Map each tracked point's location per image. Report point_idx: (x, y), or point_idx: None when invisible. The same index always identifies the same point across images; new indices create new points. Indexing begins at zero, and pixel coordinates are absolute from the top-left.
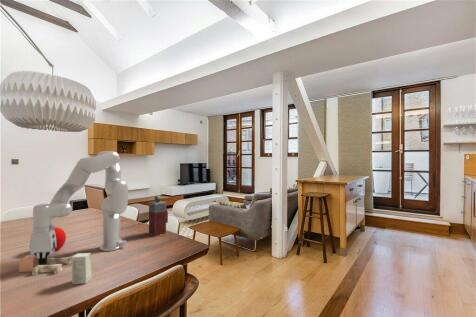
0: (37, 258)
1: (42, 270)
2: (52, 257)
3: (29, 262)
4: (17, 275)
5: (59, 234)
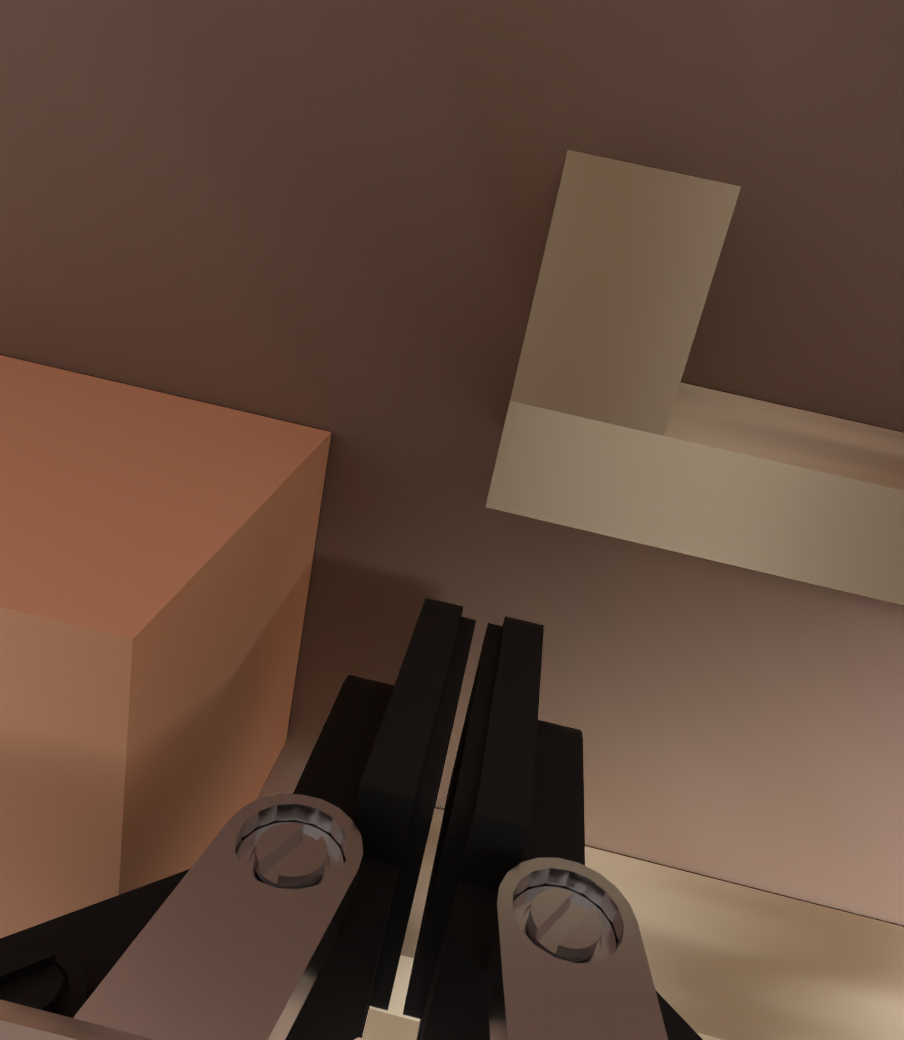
0: (175, 783)
1: None
2: (679, 349)
3: None
4: None
5: None
